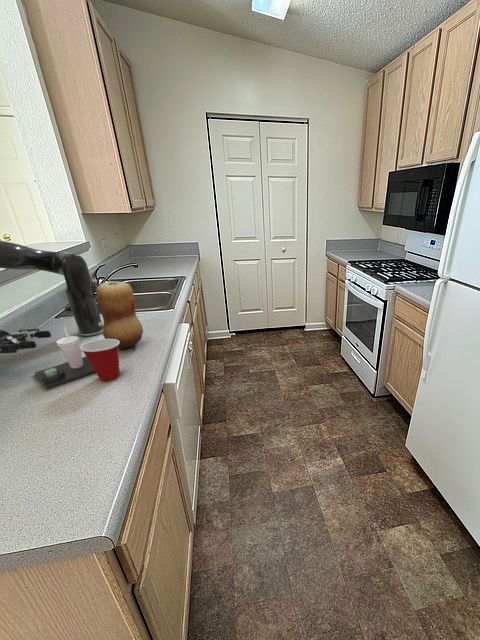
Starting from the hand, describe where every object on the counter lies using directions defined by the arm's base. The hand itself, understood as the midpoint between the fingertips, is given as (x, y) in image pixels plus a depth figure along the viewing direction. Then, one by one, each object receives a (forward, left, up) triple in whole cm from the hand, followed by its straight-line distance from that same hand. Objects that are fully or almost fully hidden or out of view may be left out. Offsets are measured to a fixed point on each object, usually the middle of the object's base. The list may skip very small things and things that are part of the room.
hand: (42, 338), depth 107 cm
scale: (+6, +3, -12) cm, 13 cm away
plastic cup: (+19, +11, -12) cm, 25 cm away
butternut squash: (-1, +25, -12) cm, 27 cm away
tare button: (+9, -2, -9) cm, 13 cm away
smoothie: (+5, +6, -11) cm, 13 cm away
